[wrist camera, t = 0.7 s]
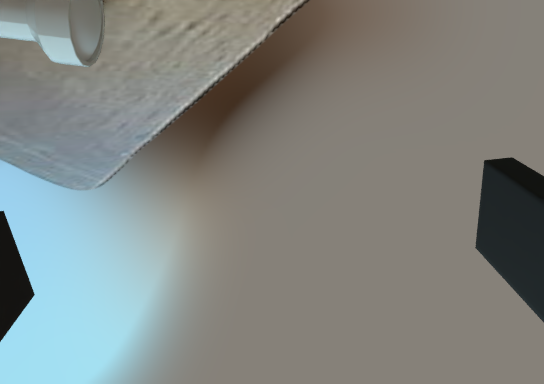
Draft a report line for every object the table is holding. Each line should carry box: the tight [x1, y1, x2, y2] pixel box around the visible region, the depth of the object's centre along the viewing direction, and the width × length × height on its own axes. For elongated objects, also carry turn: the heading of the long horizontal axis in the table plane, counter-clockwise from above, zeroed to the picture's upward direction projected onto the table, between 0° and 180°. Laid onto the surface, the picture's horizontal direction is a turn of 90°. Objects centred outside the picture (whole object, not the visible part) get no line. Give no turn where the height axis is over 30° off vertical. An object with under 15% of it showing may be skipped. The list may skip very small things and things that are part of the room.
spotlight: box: [0, 0, 105, 67], centre depth 39 cm, size 8×11×8 cm
